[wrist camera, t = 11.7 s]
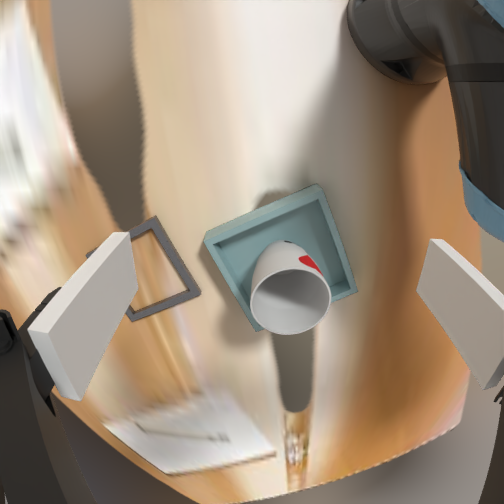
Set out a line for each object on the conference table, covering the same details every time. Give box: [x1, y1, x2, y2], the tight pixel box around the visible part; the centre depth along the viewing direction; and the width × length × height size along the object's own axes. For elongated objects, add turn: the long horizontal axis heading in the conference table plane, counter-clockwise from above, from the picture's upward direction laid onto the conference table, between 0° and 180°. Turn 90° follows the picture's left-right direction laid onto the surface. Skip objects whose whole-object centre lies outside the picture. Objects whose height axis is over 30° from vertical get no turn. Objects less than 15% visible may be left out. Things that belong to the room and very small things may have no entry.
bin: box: [203, 184, 358, 332], centre depth 39 cm, size 15×15×3 cm
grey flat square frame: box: [86, 216, 201, 321], centre depth 40 cm, size 12×12×1 cm
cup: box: [250, 240, 331, 335], centre depth 35 cm, size 8×8×10 cm
